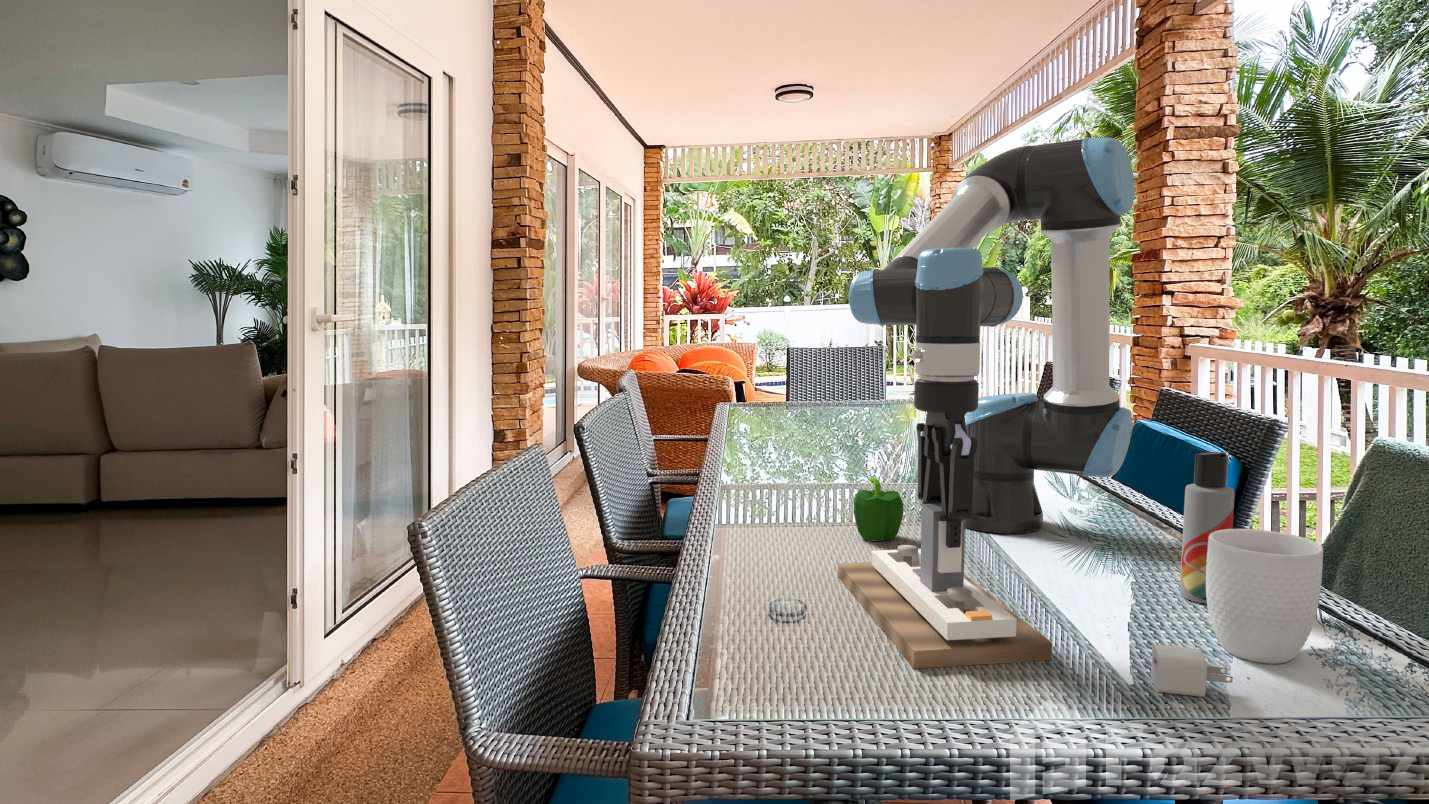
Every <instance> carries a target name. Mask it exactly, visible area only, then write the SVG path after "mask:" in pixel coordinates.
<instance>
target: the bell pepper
mask: <svg viewBox="0 0 1429 804" xmlns="http://www.w3.org/2000/svg"><path fill="white" fill-rule="evenodd" d="M869 481H870V482H871V484H874V485H873V486H874V489H871V490H868V489H865V488H864V489H863V488H862V489H859V490H858V492H857V493H856V494H855V497H854V498H853V516H854V521H855V525H856V527H857V531H858V533H859V535H860V537H861V538H862V539H864V540H866V541H872V542H879V541H884V540H885V541H886V540H894V539H895V538H896V536H897V535H898V534H899V531H900V528H901V524H902V521H903V518H904V502H903V500H902V497H901V495H900V493H899V491H896V490H888V491H884V490H883V489H882V486H881V482H880V480H879V479H878V478H877V477H871V478H870V479H869Z"/></svg>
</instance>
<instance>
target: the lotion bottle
mask: <svg viewBox="0 0 1429 804" xmlns="http://www.w3.org/2000/svg"><path fill="white" fill-rule="evenodd" d="M1194 455H1195V456H1194V458H1195V459H1194V469H1193V470H1194V471H1193V483H1190V484H1187V485H1186V486H1185V489H1184V505H1183V522H1182V525H1183V526H1182V528H1183V529H1182V540H1181V541H1182V543H1181V544H1182V545H1181V560H1180V576H1179V577H1180V578H1179V579H1180V581H1179V593H1180V594H1181V595H1180V596H1181V597H1182V598H1183V597H1184V598H1183V599H1185V600H1187V599H1188V600H1187V601H1189V600H1191V601H1190V602H1193V601H1195V602H1194V603H1196V602H1198V603H1197V604H1201V603H1205V604H1204V605H1207V598H1206V565H1207V561H1206V560H1207V551H1208V538H1209V535H1210V534H1211V533H1212V532H1215V531H1218V530H1225V529H1234V528H1233V526H1234V525H1233V524H1234V509H1235V490H1234V488H1232V487H1229V486H1227V485H1228V471H1229V470H1228V468H1229V455H1228V454H1227V453H1226V452H1225V451H1220V452H1219V451H1209V452H1201V453H1196V454H1194Z"/></svg>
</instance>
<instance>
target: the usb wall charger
mask: <svg viewBox="0 0 1429 804" xmlns="http://www.w3.org/2000/svg"><path fill="white" fill-rule="evenodd" d="M1151 649H1152V652H1151V669H1150V673H1151V674H1150V676H1151V681H1152V683H1153V686H1154V688H1155V690H1156V692H1157V693H1162V694H1163V693H1165V694H1172V695H1173V694H1174V695H1183V696H1191V697H1200V698H1205V697H1206V692H1207V691H1206V690H1207V682H1215V683H1223V684H1224V683H1225V684H1227V683H1228V684H1230V683H1231V684H1233V681H1234V680H1233V679H1234V676H1232V675H1228V668H1227V667H1222V666H1215V665H1214V666H1213V665H1208V663H1207V659H1206V657H1205V656H1204V653H1203V652H1202V650H1201V649H1200V648H1196V647H1186V646H1185V647H1184V646H1175V645H1174V646H1173V645H1165V644H1152V648H1151ZM1222 670H1225V671H1224V672H1222ZM1227 678H1230V680H1226V679H1227Z"/></svg>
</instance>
